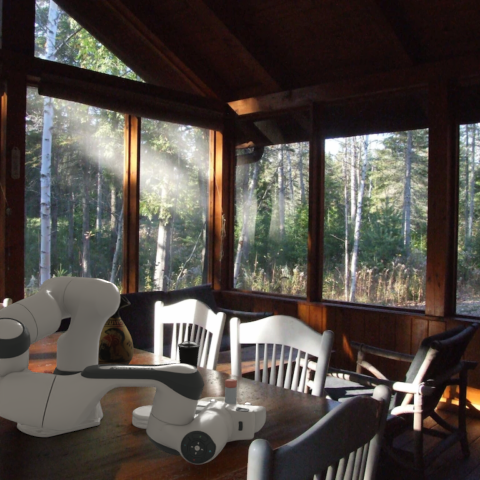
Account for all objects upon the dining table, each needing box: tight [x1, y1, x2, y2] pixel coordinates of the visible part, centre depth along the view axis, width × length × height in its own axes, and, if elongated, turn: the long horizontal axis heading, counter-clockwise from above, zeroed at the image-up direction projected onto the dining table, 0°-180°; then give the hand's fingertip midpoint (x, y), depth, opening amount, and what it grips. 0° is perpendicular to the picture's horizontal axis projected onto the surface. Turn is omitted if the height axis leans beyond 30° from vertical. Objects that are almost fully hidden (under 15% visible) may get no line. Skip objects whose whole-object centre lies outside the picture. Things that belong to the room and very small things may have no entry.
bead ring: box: [198, 396, 239, 404], centre depth 151 cm, size 12×12×4 cm
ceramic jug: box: [98, 295, 134, 365], centre depth 197 cm, size 17×15×30 cm
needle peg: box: [224, 378, 238, 404], centre depth 136 cm, size 3×3×14 cm
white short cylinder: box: [131, 404, 153, 430], centre depth 144 cm, size 10×10×4 cm
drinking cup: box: [177, 325, 201, 369], centre depth 182 cm, size 8×8×20 cm
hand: (231, 404), depth 136 cm, fingers open, 8 cm apart
